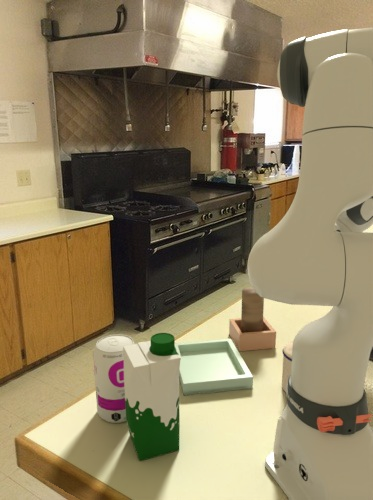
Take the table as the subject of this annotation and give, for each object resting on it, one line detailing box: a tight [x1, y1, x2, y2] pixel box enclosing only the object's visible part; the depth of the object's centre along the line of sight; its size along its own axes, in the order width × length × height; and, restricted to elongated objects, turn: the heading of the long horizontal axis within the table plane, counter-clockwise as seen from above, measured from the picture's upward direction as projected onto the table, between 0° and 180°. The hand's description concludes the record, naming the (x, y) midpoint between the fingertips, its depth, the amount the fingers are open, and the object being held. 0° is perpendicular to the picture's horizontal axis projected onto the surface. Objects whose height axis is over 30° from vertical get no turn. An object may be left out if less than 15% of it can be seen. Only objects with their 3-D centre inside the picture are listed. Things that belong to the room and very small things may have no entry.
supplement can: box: [92, 333, 136, 424], centre depth 82 cm, size 8×8×15 cm
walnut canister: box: [240, 286, 265, 333], centre depth 111 cm, size 6×6×14 cm
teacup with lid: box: [281, 341, 293, 393], centre depth 91 cm, size 12×9×12 cm
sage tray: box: [175, 338, 254, 396], centre depth 98 cm, size 18×15×3 cm
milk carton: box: [123, 332, 181, 462], centre depth 73 cm, size 9×9×20 cm
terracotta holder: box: [228, 316, 277, 352], centre depth 112 cm, size 10×10×4 cm
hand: (296, 275), depth 110 cm, fingers open, 8 cm apart
